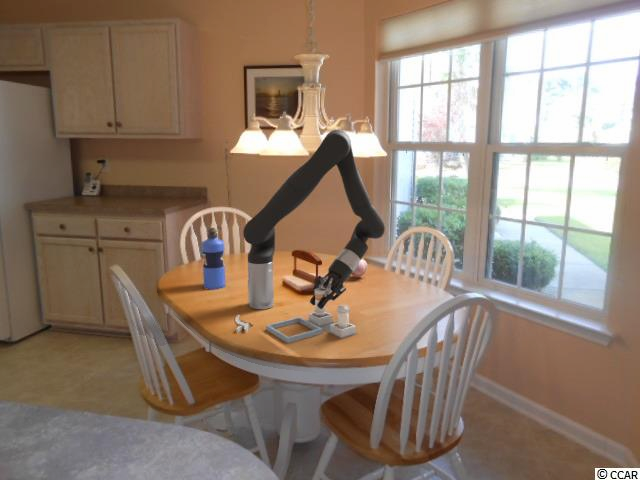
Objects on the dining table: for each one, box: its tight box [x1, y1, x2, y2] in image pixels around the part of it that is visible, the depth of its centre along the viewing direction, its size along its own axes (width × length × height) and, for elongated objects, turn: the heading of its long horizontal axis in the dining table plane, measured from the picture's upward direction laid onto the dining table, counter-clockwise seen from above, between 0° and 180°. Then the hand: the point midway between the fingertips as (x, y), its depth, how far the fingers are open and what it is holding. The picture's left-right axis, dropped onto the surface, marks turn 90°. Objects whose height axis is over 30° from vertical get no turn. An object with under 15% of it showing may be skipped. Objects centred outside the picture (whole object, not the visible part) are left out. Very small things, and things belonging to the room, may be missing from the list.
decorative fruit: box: [351, 257, 368, 279], centre depth 217 cm, size 9×8×10 cm
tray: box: [265, 316, 324, 344], centre depth 155 cm, size 13×13×2 cm
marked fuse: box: [314, 287, 327, 316], centre depth 162 cm, size 4×4×8 cm
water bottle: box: [200, 227, 226, 290], centre depth 203 cm, size 9×9×25 cm
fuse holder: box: [306, 311, 359, 340], centre depth 158 cm, size 19×7×4 cm, turn 36°
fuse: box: [336, 304, 350, 329], centre depth 153 cm, size 4×4×8 cm
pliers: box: [234, 314, 254, 334], centre depth 163 cm, size 10×2×15 cm
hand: (315, 305), depth 161 cm, fingers closed on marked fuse, 3 cm apart
